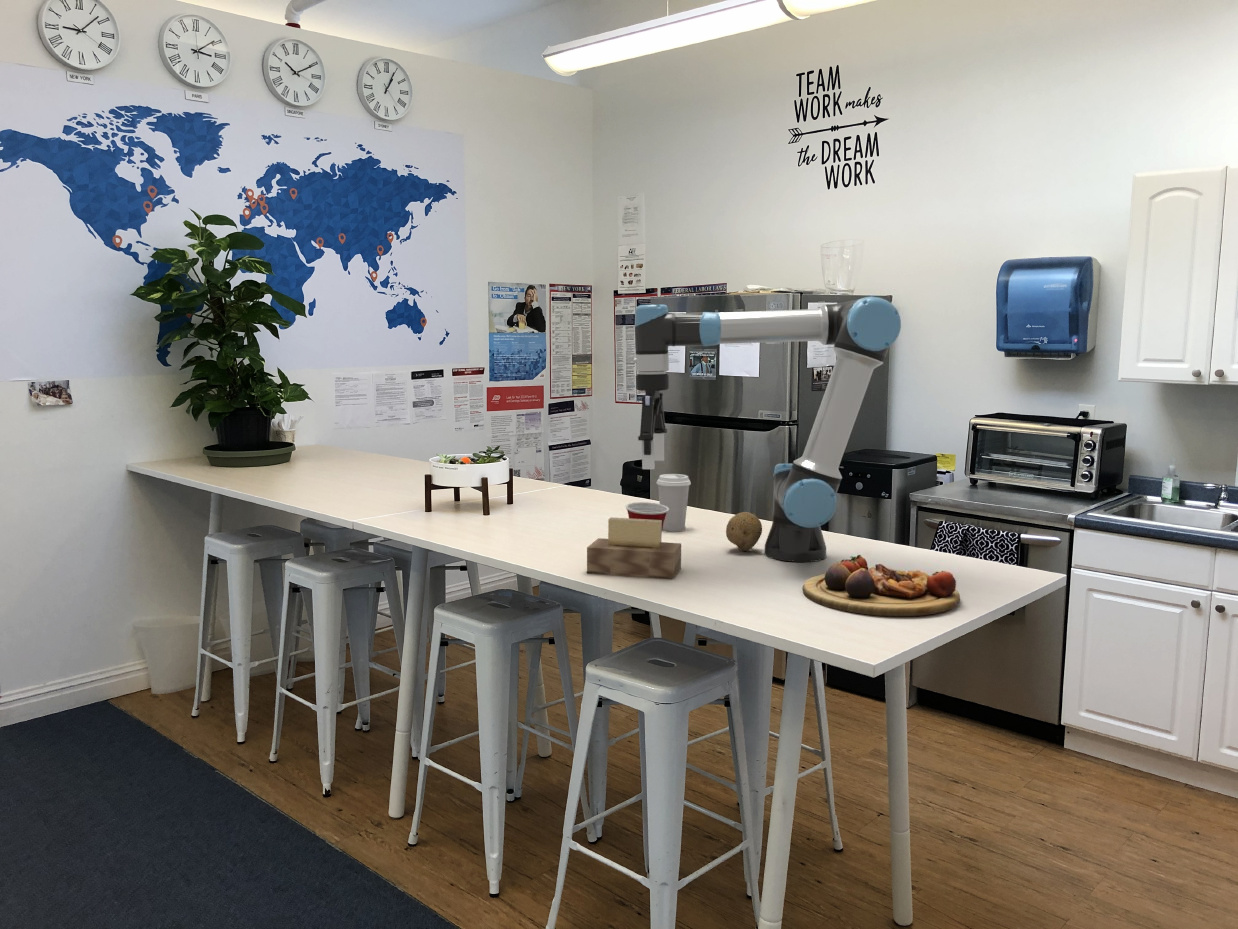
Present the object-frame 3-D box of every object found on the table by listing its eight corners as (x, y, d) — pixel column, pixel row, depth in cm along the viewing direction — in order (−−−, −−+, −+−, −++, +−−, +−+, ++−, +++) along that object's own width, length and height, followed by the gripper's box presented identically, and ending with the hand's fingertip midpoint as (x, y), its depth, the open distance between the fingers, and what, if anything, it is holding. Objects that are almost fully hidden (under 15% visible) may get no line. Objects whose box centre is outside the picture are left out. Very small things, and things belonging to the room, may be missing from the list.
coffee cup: (687, 533, 262) (688, 479, 260) (653, 531, 264) (653, 478, 262) (692, 526, 271) (693, 474, 269) (658, 524, 273) (659, 472, 271)
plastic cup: (644, 560, 231) (645, 511, 230) (616, 552, 240) (616, 505, 238) (677, 554, 238) (678, 506, 237) (648, 546, 247) (649, 500, 245)
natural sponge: (746, 556, 236) (747, 517, 235) (718, 550, 242) (719, 512, 241) (768, 551, 242) (769, 512, 241) (739, 545, 249) (740, 507, 247)
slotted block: (680, 568, 224) (681, 543, 223) (673, 579, 214) (673, 553, 213) (598, 562, 229) (598, 538, 228) (586, 573, 219) (586, 547, 218)
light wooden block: (661, 567, 221) (661, 520, 220) (659, 569, 219) (659, 522, 217) (610, 563, 224) (610, 517, 222) (608, 566, 222) (608, 519, 220)
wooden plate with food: (986, 598, 203) (988, 560, 202) (913, 629, 180) (914, 586, 179) (852, 573, 225) (854, 538, 224) (773, 598, 203) (773, 559, 202)
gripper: (645, 370, 232) (647, 457, 235) (625, 375, 208) (627, 472, 211) (676, 370, 231) (677, 457, 234) (659, 375, 207) (660, 472, 210)
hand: (653, 464), depth 222 cm, fingers open, 13 cm apart
